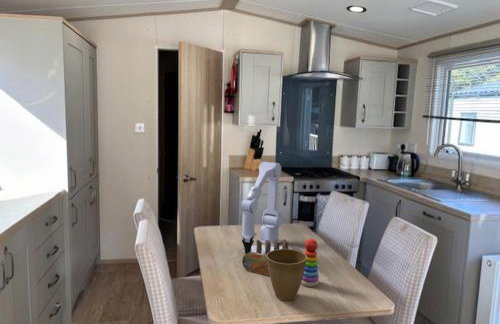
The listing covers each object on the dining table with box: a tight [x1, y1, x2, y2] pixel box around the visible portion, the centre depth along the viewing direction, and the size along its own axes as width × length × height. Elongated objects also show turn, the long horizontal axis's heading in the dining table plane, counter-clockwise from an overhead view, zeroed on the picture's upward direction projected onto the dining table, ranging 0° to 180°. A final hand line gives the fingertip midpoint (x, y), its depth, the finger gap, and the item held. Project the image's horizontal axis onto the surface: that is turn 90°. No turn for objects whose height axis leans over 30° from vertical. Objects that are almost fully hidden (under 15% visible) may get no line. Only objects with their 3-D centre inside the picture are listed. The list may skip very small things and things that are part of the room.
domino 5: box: [281, 239, 289, 249], centre depth 184 cm, size 2×5×7 cm, turn 10°
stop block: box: [291, 245, 303, 253], centre depth 185 cm, size 3×7×3 cm, turn 10°
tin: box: [241, 251, 270, 276], centre depth 162 cm, size 15×3×8 cm, turn 62°
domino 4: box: [273, 239, 281, 250], centre depth 183 cm, size 2×5×7 cm, turn 10°
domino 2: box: [255, 239, 263, 254], centre depth 181 cm, size 2×5×7 cm, turn 10°
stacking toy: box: [301, 238, 320, 288], centre depth 152 cm, size 8×8×19 cm
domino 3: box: [264, 240, 272, 255], centre depth 182 cm, size 2×5×7 cm, turn 10°
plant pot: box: [267, 248, 307, 302], centre depth 141 cm, size 15×15×16 cm
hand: (247, 251), depth 181 cm, fingers closed on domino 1, 5 cm apart
